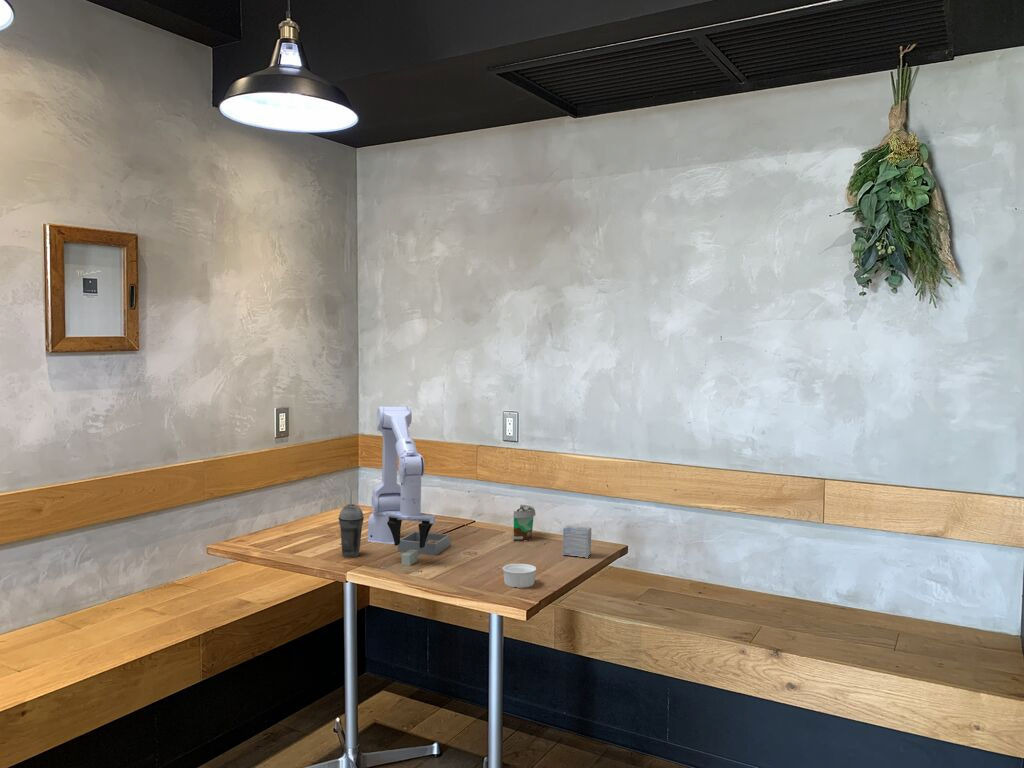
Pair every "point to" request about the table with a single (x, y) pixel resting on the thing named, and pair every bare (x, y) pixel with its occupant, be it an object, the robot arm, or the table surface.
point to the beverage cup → (351, 529)
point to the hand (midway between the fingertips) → (409, 546)
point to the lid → (407, 560)
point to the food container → (523, 523)
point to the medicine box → (577, 541)
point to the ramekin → (519, 575)
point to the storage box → (430, 548)
